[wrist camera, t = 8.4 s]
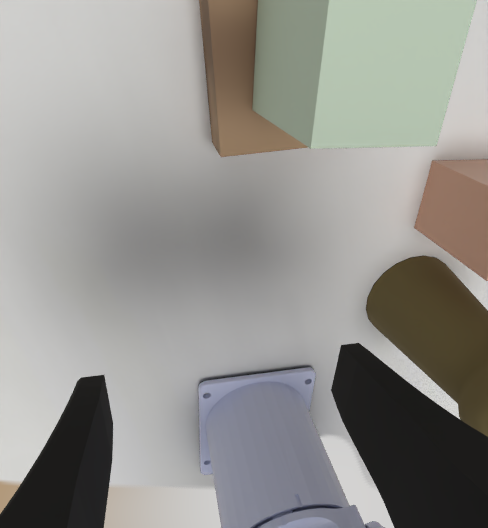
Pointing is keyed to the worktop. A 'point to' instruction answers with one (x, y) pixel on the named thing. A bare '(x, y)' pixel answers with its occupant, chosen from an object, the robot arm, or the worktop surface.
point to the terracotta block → (458, 211)
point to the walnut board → (236, 80)
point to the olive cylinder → (437, 330)
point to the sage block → (358, 69)
